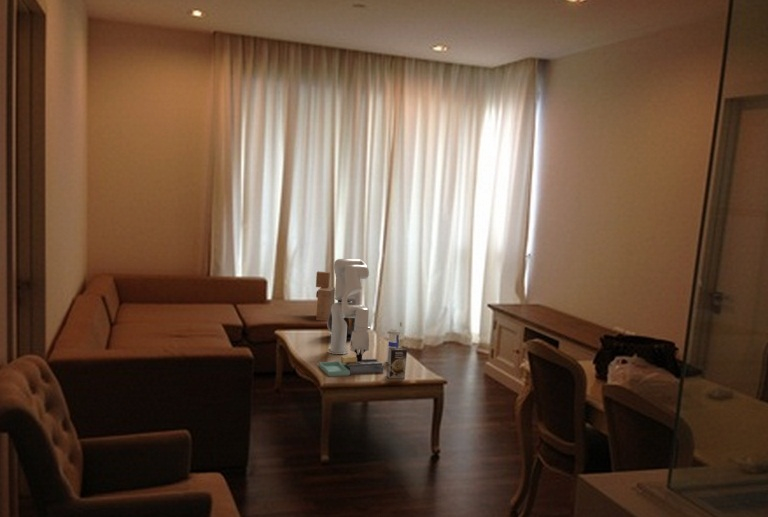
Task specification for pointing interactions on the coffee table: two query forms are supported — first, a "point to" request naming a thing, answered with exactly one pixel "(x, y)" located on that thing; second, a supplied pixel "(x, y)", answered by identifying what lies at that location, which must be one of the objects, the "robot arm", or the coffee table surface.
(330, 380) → the coffee table surface
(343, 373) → the tray
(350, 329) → the amphora vase
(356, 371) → the grey flat channelled block
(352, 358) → the tan wooden block
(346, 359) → the tan wooden cube
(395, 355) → the coffee box
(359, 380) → the coffee table surface
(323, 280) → the tan blocky figurine
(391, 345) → the water bottle
